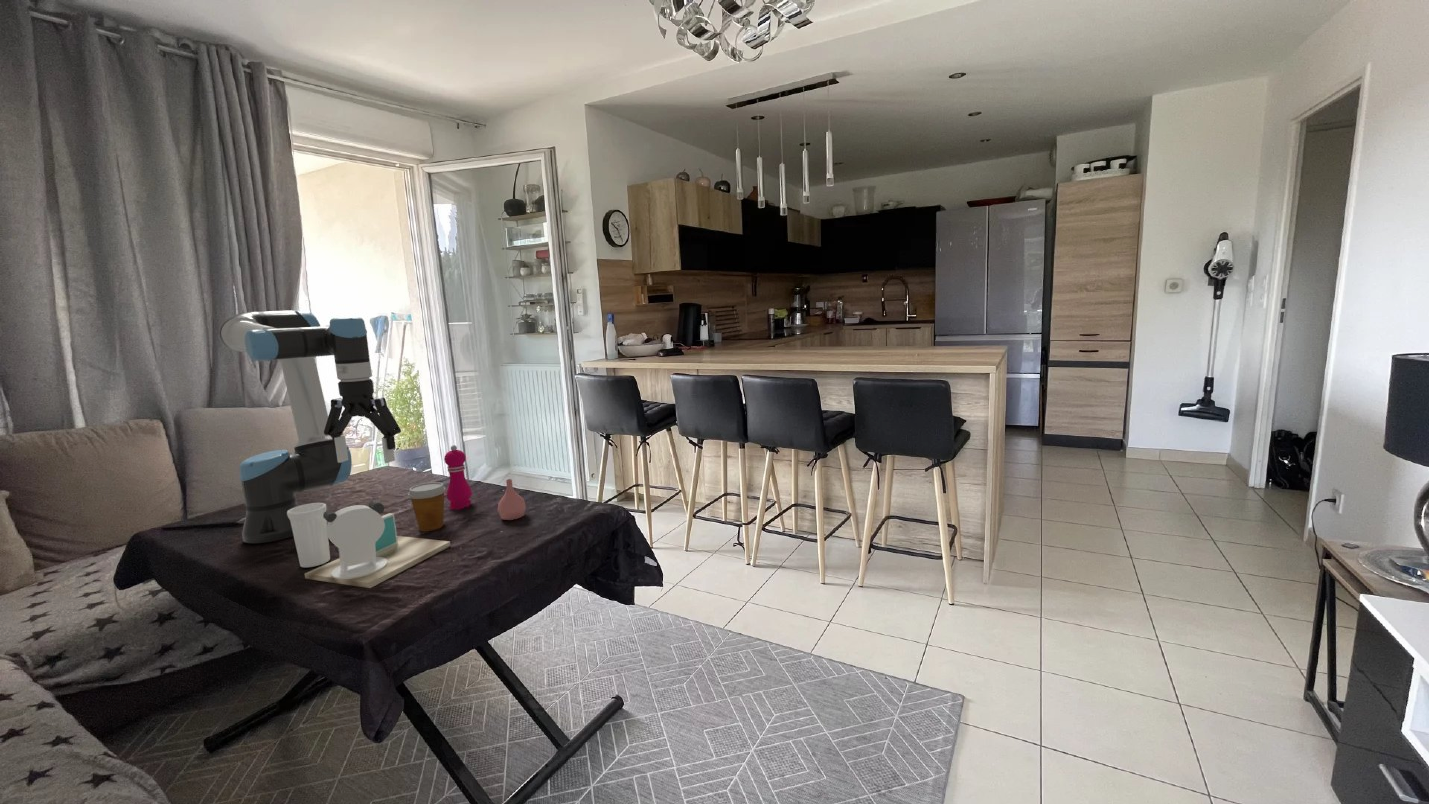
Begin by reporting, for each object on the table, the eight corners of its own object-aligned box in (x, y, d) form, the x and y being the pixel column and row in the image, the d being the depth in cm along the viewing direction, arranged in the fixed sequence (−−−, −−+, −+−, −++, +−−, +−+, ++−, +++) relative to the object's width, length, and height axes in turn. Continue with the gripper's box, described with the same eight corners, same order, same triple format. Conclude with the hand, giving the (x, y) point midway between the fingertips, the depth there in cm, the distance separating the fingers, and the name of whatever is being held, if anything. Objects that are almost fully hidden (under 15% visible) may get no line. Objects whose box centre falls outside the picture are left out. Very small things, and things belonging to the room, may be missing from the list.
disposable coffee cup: (456, 521, 172) (451, 481, 170) (437, 533, 162) (432, 491, 161) (425, 521, 173) (420, 481, 171) (405, 533, 163) (399, 492, 162)
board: (305, 578, 137) (304, 573, 137) (391, 539, 160) (390, 535, 159) (370, 588, 131) (369, 583, 131) (450, 545, 153) (449, 541, 153)
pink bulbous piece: (532, 518, 171) (528, 478, 169) (508, 526, 165) (503, 485, 163) (517, 513, 176) (514, 474, 174) (494, 521, 170) (489, 481, 169)
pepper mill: (443, 511, 181) (435, 448, 178) (457, 503, 188) (449, 442, 185) (464, 511, 180) (457, 448, 177) (477, 504, 187) (471, 442, 184)
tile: (366, 554, 147) (362, 524, 145) (393, 542, 154) (389, 513, 153) (371, 555, 146) (367, 524, 145) (398, 543, 153) (394, 513, 152)
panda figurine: (382, 553, 147) (374, 495, 145) (397, 566, 139) (388, 504, 137) (326, 569, 139) (316, 508, 136) (338, 584, 131) (328, 519, 128)
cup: (291, 573, 141) (282, 516, 138) (300, 560, 148) (291, 506, 146) (331, 566, 144) (322, 509, 141) (337, 554, 151) (329, 500, 149)
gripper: (299, 382, 147) (312, 464, 150) (388, 380, 142) (399, 465, 146) (324, 378, 154) (335, 457, 157) (409, 376, 150) (419, 458, 153)
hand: (366, 461), depth 152 cm, fingers open, 13 cm apart
